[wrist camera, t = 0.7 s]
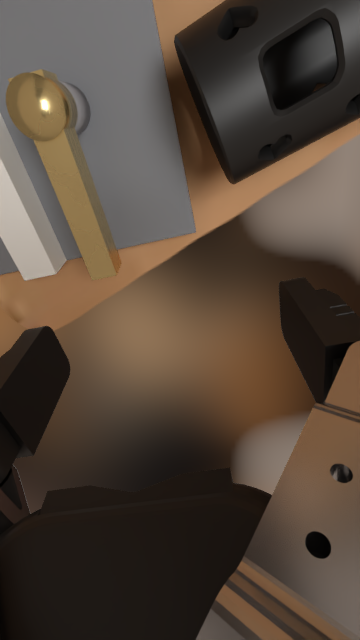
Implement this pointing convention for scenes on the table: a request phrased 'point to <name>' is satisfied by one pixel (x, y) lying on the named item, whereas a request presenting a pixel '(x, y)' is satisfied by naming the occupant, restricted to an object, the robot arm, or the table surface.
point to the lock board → (90, 129)
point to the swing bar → (64, 163)
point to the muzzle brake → (272, 76)
